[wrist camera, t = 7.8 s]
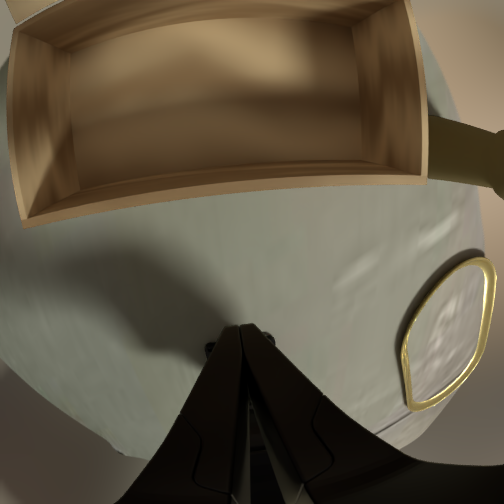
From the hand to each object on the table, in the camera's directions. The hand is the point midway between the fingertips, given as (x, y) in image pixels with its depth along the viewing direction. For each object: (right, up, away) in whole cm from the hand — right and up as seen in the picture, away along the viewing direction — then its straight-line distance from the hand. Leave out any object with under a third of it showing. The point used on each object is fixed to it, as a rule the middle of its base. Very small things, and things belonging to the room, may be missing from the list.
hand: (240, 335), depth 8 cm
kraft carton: (-2, +13, +8) cm, 16 cm away
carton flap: (-1, +17, -7) cm, 18 cm away
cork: (+17, +12, +12) cm, 24 cm away
